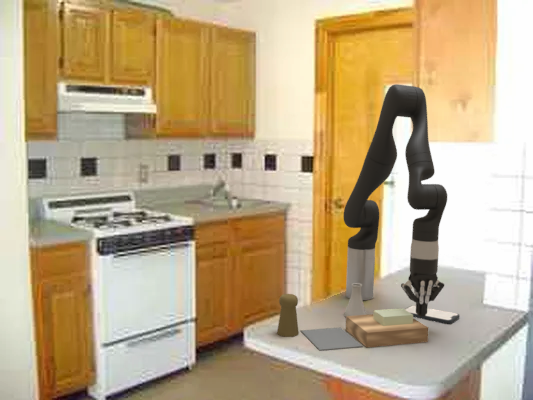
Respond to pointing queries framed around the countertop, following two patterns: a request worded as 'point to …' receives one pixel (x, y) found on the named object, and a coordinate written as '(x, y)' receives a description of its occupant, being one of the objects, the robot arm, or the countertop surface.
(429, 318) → the phone case
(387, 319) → the block
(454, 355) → the countertop surface
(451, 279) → the countertop surface
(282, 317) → the pepper mill
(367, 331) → the board
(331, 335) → the mat
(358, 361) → the countertop surface
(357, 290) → the flask
